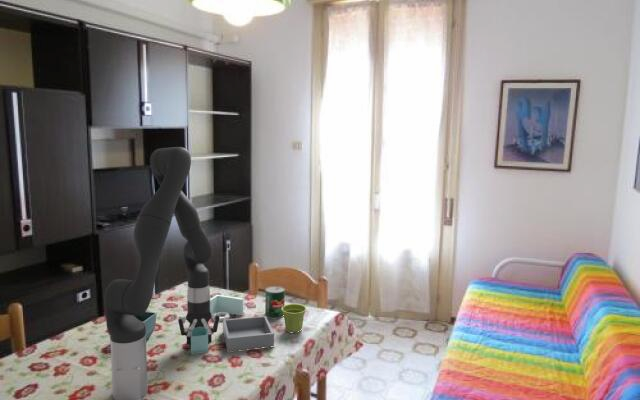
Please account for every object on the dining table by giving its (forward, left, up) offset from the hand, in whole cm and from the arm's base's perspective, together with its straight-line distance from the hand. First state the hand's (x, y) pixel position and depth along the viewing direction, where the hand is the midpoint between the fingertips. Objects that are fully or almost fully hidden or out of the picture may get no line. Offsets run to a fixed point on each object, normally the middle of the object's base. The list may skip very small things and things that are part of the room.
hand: (199, 344), depth 159 cm
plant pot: (+6, -35, -1) cm, 36 cm away
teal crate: (0, 0, -1) cm, 1 cm away
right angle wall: (+23, -10, -2) cm, 26 cm away
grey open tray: (+2, -17, -1) cm, 17 cm away
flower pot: (+11, +20, -1) cm, 23 cm away
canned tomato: (+22, -31, -1) cm, 38 cm away
